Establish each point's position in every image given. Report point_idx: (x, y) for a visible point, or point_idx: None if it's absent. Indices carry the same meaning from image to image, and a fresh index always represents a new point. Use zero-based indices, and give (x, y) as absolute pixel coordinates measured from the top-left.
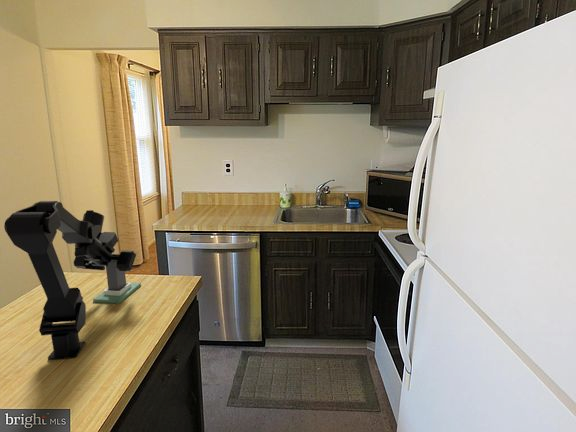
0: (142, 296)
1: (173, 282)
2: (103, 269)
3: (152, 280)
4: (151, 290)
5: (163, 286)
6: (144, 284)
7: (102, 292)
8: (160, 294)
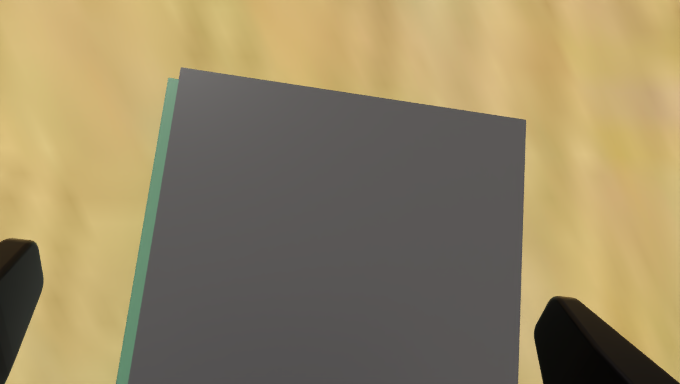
0: (536, 356)
1: (673, 55)
2: (27, 311)
3: (476, 3)
4: (560, 223)
5: (626, 137)
6: (440, 89)
7: (121, 365)
8: (672, 306)
